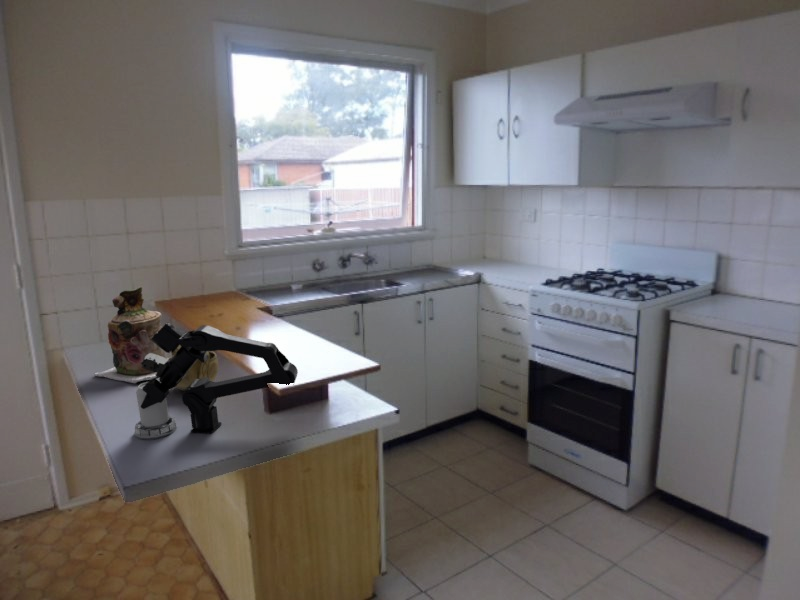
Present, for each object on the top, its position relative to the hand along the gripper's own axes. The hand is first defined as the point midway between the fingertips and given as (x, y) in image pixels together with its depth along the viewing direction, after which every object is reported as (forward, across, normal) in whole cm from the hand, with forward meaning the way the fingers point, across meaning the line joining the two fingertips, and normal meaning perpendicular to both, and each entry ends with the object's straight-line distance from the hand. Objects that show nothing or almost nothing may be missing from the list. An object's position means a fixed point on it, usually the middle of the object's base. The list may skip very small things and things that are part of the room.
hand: (147, 402), depth 170 cm
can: (+4, 0, +6) cm, 7 cm away
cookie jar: (+23, -55, -10) cm, 60 cm away
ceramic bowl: (+5, -34, +8) cm, 35 cm away
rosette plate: (+6, 0, +7) cm, 9 cm away
